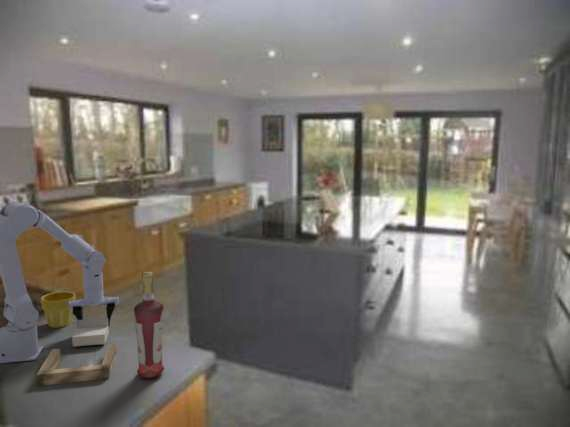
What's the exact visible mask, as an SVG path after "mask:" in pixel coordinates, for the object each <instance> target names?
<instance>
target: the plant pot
mask: <svg viewBox="0 0 570 427" xmlns="http://www.w3.org/2000/svg"><path fill="white" fill-rule="evenodd" d="M75 300H77V298H76V293H75V292H71V291H55V292H51V293H47V294H45V295H43V296H41V297H40V306H41V309H42V310H43V311H44V314H45V318H46V321H47V324H48V327H50V328H54V329H55V328H57V329H58V328H64V327H66V326H69V325H70V324H71V321H72V316H73V309H69V301H75Z"/></svg>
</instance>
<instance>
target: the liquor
mask: <svg viewBox="0 0 570 427" xmlns="http://www.w3.org/2000/svg"><path fill="white" fill-rule="evenodd" d="M141 278H142V279H141V280H142V283H143V290H142V301H141V302H139V303H137V304H136V305H135V306H134V307H133V312H134V314H133V315H134V328H135V336H136V346H137V357H138V358H137V360H138V368H137V371H136V372H137V375H139V376H140V377H142V378H143V379H146V380H147V379H155V378H157V377H158V376H159V375H161V374H162V373H163V371H164V370H165V366H164V365H163V335H164V332H163V331H164V328H163V327H164V304H163V303H161V302H159V300H158V301H157V300H155V294H154V287H153V282H154V272H153V271H144V272H142V273H141Z"/></svg>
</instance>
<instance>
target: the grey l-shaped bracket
mask: <svg viewBox="0 0 570 427" xmlns="http://www.w3.org/2000/svg"><path fill="white" fill-rule="evenodd" d="M75 323H76V329H75V331H74V333H73V335H72V336H71V340H72V347H74V348H79V347H83V346H84V347H85V346H95V345H100V346H105V345H106V342H107V340H108V336H109V334H110V333H109V328H110V327H108V318H107V317H101V318H89V319H88V318H87V319H86V318H85V319H83V320H77V319H76V322H75Z"/></svg>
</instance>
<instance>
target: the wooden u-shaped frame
mask: <svg viewBox="0 0 570 427" xmlns="http://www.w3.org/2000/svg"><path fill="white" fill-rule="evenodd" d="M105 351H106V352H105V355H104V356H103V359H102V364H99V365H98V364H95V365H86V366H77V367H76V366H75V367H66V368H57V367H58V364H59V363H60V360H61V357H62V356H61V348H54V349H51V351H50V352H49V354H48V355H47V357H46V359H45V360H44V362H43V363H42V365H41V366H40V369H39V370H38V371H37V373H36V386H37V387H39V386H40V387H41V386H50V385H59V384H61V385H62V384H67V383H77V382H78V383H79V382H88V381H89V380H90V381H97V379H100V380H108V379H110V377H111V373H112V370H113V368H114V364H115V361H114V360H116V357H117V355H118V354H117V343H112V344H111V343H110V344H108V346H107V349H106V350H105ZM107 378H108V379H107Z"/></svg>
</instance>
